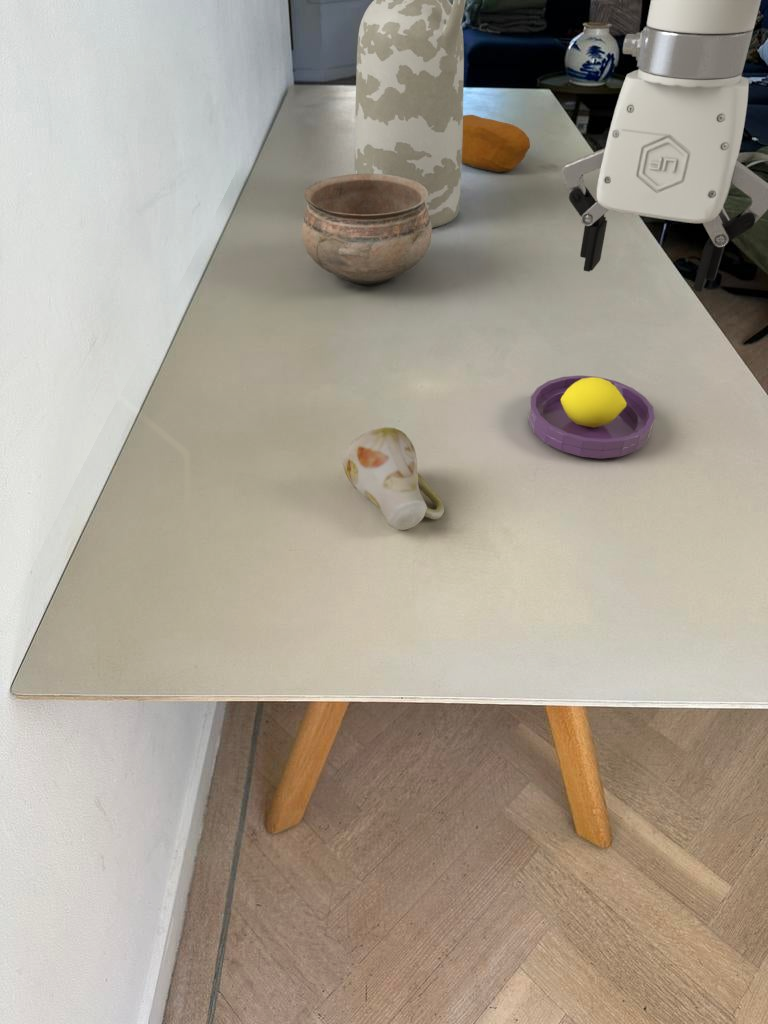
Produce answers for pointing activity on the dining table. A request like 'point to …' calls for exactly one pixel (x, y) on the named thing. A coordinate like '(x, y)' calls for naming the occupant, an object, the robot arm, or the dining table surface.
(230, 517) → the dining table surface
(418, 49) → the vase
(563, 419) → the dish
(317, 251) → the cooking pot
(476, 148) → the bread
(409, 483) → the mug
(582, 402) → the lemon
